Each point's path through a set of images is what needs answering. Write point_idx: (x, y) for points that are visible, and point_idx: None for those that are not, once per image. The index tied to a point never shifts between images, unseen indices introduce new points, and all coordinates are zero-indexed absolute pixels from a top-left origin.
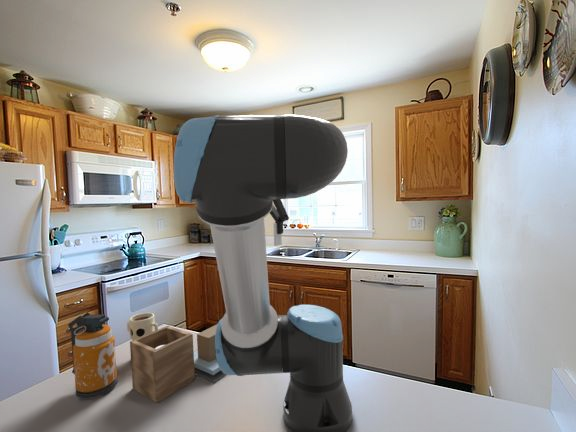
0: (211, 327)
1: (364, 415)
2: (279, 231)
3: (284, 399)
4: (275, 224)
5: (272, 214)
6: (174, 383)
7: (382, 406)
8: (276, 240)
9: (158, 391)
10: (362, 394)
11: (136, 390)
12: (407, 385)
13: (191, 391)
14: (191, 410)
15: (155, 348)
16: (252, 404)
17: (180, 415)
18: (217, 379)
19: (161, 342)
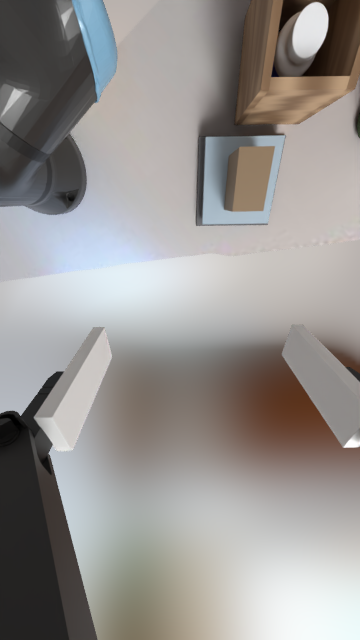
0: (265, 191)
1: None
2: (52, 382)
3: (66, 139)
4: (40, 410)
5: (20, 502)
6: (243, 60)
7: (7, 226)
8: (84, 343)
9: (250, 6)
10: (35, 234)
11: None
12: (15, 275)
13: (216, 92)
14: (180, 48)
15: (326, 15)
16: (118, 129)
17: (186, 22)
18: (199, 145)
19: (335, 68)
